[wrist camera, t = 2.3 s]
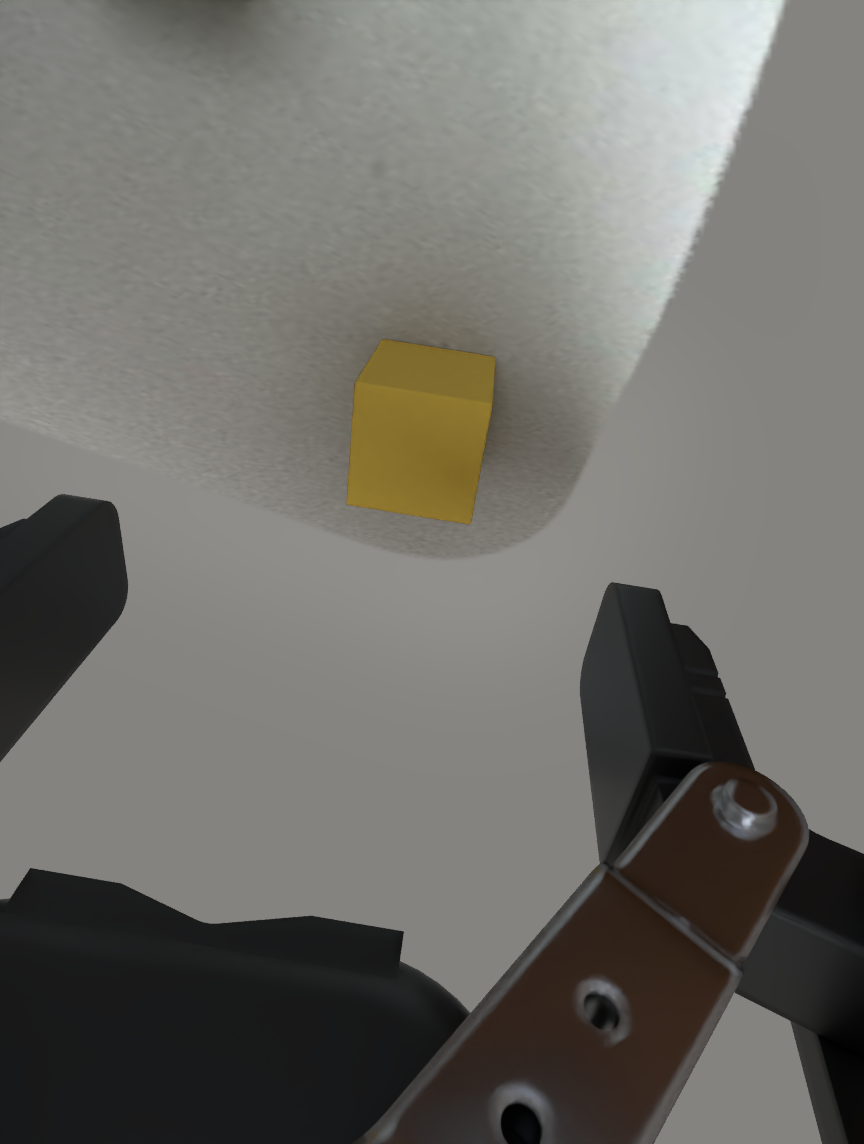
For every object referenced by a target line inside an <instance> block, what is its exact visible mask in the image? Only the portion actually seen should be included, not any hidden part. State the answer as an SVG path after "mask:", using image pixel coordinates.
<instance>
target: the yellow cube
mask: <svg viewBox="0 0 864 1144" xmlns="http://www.w3.org/2000/svg"><path fill="white" fill-rule="evenodd" d="M494 375H495V357H493V356H487V355H480V354H474V353H468V352H461V351H455V350H449V349H443V348H436V347H430V346H424V345H417V344H411V343H405V342H398V341H392V340H386V339H382V340H381V342H380V343H379V345H378V347H377V348H376V350H375V351H374V353H373V355H372V356H371V358H370V359H369V361H368V363H367V364H366V366H365V367H364V369H363V371H362V372H361V374H360V375H359V377H358V379H357V380H356V382H355V387H354V401H353V415H352V430H351V444H350V459H349V473H348V487H347V502H346V503H347V505H351V506H358V507H364V508H370V509H376V510H383V511H389V512H395V513H401V514H407V515H414V516H420V517H426V518H432V519H439V520H445V521H451V522H457V523H463V524H470V523H471V520H472V515H473V509H474V504H475V498H476V493H477V488H478V482H479V477H480V471H481V466H482V460H483V455H484V449H485V444H486V439H487V433H488V428H489V422H490V417H491V411H492V406H493V391H494Z"/></svg>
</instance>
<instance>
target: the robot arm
mask: <svg viewBox="0 0 864 1144" xmlns="http://www.w3.org/2000/svg"><path fill="white" fill-rule="evenodd" d="M127 593H128V579H127V572H126V565H125V559H124V552H123V545H122V537H121V530H120V523H119V517H118V513H117V510H116V508H115V506H114V505H113V504H112V503H111V502H108V501H104V500H97V499H91V498H85V497H79V496H72V495H66V494H61V495H58V496H56V497H54V498H53V499H52V500H51V501H49V502H48V503H47V504H46V505H44V506H43V507H42V508H40V509H39V510H38V511H37V512H36V513H34V514H33V515H31V516H30V517H29V518H28V519H21V520H19V521H16V522H14V523H11V524H9V525H7V526H4V527H2V528H0V762H1V760H2V759H3V758H4V757H5V756H6V754H7V753H8V752H9V751H10V749H11V748H12V747H13V746H14V745H15V743H16V742H17V741H18V740H19V739H20V737H21V736H22V735H23V733H24V732H25V731H26V730H27V729H28V728H29V726H30V725H31V724H32V723H33V722H34V720H35V719H36V718H37V717H38V715H39V714H40V713H41V712H42V711H43V709H44V708H45V707H46V706H47V705H48V703H49V702H50V701H51V700H52V699H53V697H54V696H55V695H56V694H57V692H58V691H59V690H60V689H61V688H62V686H63V685H64V684H65V683H66V681H67V680H68V679H69V678H70V677H71V676H72V674H73V673H74V672H75V671H76V669H77V668H78V667H79V666H80V665H81V663H82V662H83V661H84V660H85V659H86V657H87V656H88V655H89V654H90V653H91V651H92V650H93V649H94V648H95V646H96V645H97V644H98V643H99V642H100V640H101V639H102V638H103V637H104V636H105V634H106V633H107V632H108V631H109V629H110V628H111V627H112V626H113V625H114V623H115V622H116V621H117V620H118V618H119V617H120V615H121V613H122V611H123V609H124V606H125V603H126V599H127ZM725 695H726V692H725V689H724V687H723V684H722V682H721V679H720V678H718V671H717V668H716V666H715V663H714V660H713V658H712V655H711V653H710V650H709V649H708V647H707V646H706V645H705V644H704V643H703V642H702V641H701V640H700V639H699V637H698V636H697V635H695V633H694V632H693V631H692V630H691V629H690V628H689V627H688V626H685V625H679V624H672V623H670V620H669V617H668V614H667V611H666V608H665V605H664V601H663V598H662V595H661V593H660V591H659V590H657V589H650V588H644V587H638V586H632V585H626V584H620V583H613V582H612V583H610V584H609V585H608V587H607V589H606V591H605V594H604V596H603V600H602V603H601V606H600V609H599V612H598V615H597V619H596V622H595V625H594V628H593V632H592V634H591V638H590V641H589V644H588V647H587V651H586V654H585V657H584V661H583V666H582V671H581V679H580V698H581V706H582V714H583V723H584V732H585V741H586V749H587V758H588V766H589V775H590V783H591V792H592V800H593V808H594V817H595V826H596V833H597V834H596V835H597V843H598V851H599V860H600V864H599V865H598V866H597V867H596V868H595V869H594V870H593V871H592V872H591V873H590V874H589V875H588V877H587V878H586V879H585V880H584V881H583V882H582V884H581V885H580V886H579V887H578V888H577V889H576V891H575V892H574V893H573V894H572V895H571V896H570V898H569V899H568V900H567V901H566V902H565V903H564V905H563V906H562V907H561V908H560V910H558V912H557V913H556V914H555V915H554V916H553V918H552V919H551V920H550V921H549V922H548V923H547V925H546V926H545V927H544V928H543V929H542V930H541V932H540V933H539V934H538V935H537V936H536V937H535V939H534V940H533V941H532V942H531V943H530V944H529V946H528V947H527V948H526V949H525V950H524V951H523V953H522V954H521V955H520V956H519V957H518V958H517V960H516V961H515V962H514V963H513V964H512V965H511V967H510V968H509V969H508V970H507V971H506V973H505V974H504V975H503V976H502V977H501V978H500V979H499V981H498V982H497V983H496V984H495V985H494V986H493V988H492V989H491V990H490V991H489V992H488V994H487V995H486V996H485V997H484V998H483V999H482V1001H481V1002H480V1003H479V1004H478V1006H476V1008H475V1009H474V1010H473V1011H472V1012H471V1013H470V1012H469V1011H468V1010H467V1009H466V1008H465V1007H464V1006H463V1005H462V1003H461V1002H460V1001H459V1000H458V999H457V998H455V997H454V996H453V995H452V994H451V993H450V992H448V991H447V990H446V989H445V988H444V987H442V986H441V985H440V984H439V983H437V982H436V981H434V980H433V979H431V978H430V977H428V976H426V975H425V974H424V973H422V972H421V971H419V970H417V969H415V968H413V967H411V966H409V965H407V964H405V963H403V962H401V961H400V954H401V948H402V941H403V933H404V932H403V931H397V930H391V929H386V928H380V927H374V926H367V925H362V924H356V923H350V922H345V921H338V920H333V919H326V918H321V917H314V916H303V917H292V918H280V919H268V920H256V921H244V922H232V923H220V924H209V923H203V922H200V921H198V920H196V919H193V918H191V917H189V916H187V915H185V914H183V913H181V912H179V911H177V910H175V909H173V908H171V907H169V906H167V905H165V904H162V903H160V902H158V901H156V900H154V899H152V898H150V897H148V896H146V895H144V894H142V893H140V892H138V891H135V890H133V889H131V888H129V887H127V886H125V885H123V884H120V883H115V882H108V881H103V880H97V879H91V878H86V877H79V876H73V875H68V874H62V873H56V872H50V871H44V870H38V869H32V868H30V869H29V871H28V873H27V874H26V875H25V877H24V878H23V880H22V881H21V883H20V884H19V886H18V887H17V889H16V891H15V892H14V894H13V895H12V897H11V898H10V899H1V900H0V1144H654V1142H655V1140H656V1138H657V1136H658V1135H659V1133H660V1131H661V1129H662V1127H663V1125H664V1123H665V1121H666V1119H667V1117H668V1116H669V1114H670V1112H671V1110H672V1108H673V1106H674V1105H675V1103H676V1101H677V1099H678V1097H679V1095H680V1093H681V1091H682V1090H683V1088H684V1086H685V1084H686V1082H687V1080H688V1078H689V1076H690V1074H691V1073H692V1071H693V1068H694V1067H695V1065H696V1063H697V1061H698V1060H699V1058H700V1056H701V1054H702V1052H703V1050H704V1048H705V1046H706V1045H707V1043H708V1041H709V1039H710V1037H711V1035H712V1033H713V1031H714V1029H715V1028H716V1026H717V1024H718V1022H719V1020H720V1018H721V1016H722V1014H723V1013H724V1011H725V1009H726V1007H727V1005H728V1003H729V1001H730V999H731V998H732V996H733V994H734V992H735V993H737V994H738V995H741V996H742V997H744V998H746V999H748V1000H750V1001H753V1002H754V1003H756V1004H759V1005H760V1006H762V1007H764V1008H766V1009H768V1010H771V1011H772V1012H774V1013H776V1014H778V1015H780V1016H782V1017H784V1018H786V1019H788V1020H790V1021H791V1025H792V1028H793V1032H794V1036H795V1040H796V1044H797V1048H798V1052H799V1056H800V1060H801V1063H802V1067H803V1071H804V1075H805V1079H806V1082H807V1087H808V1090H809V1094H810V1098H811V1102H812V1106H813V1110H814V1114H815V1117H816V1122H817V1125H818V1129H819V1133H820V1137H821V1141H822V1144H864V854H863V853H860V852H858V851H856V850H853V849H851V848H849V847H846V846H844V845H841V844H839V843H837V842H834V841H832V840H829V839H827V838H825V837H823V836H821V835H819V834H816V833H815V832H813V831H811V830H810V829H808V824H807V822H806V819H805V816H804V815H803V813H802V811H801V809H800V808H799V806H798V805H797V804H796V802H795V801H794V800H793V798H792V797H791V796H790V795H789V794H788V793H787V792H786V791H785V790H784V789H782V788H781V787H780V786H779V785H777V784H776V783H775V782H774V781H772V780H771V779H769V778H768V777H766V776H764V775H763V774H761V773H759V772H757V771H755V768H754V766H753V763H752V760H751V758H750V755H749V753H748V750H747V747H746V745H745V742H744V739H743V737H742V734H741V732H740V729H739V726H738V724H737V721H736V718H735V716H734V713H733V710H732V708H731V705H730V703H729V700H728V699H727V698H725Z"/></svg>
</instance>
